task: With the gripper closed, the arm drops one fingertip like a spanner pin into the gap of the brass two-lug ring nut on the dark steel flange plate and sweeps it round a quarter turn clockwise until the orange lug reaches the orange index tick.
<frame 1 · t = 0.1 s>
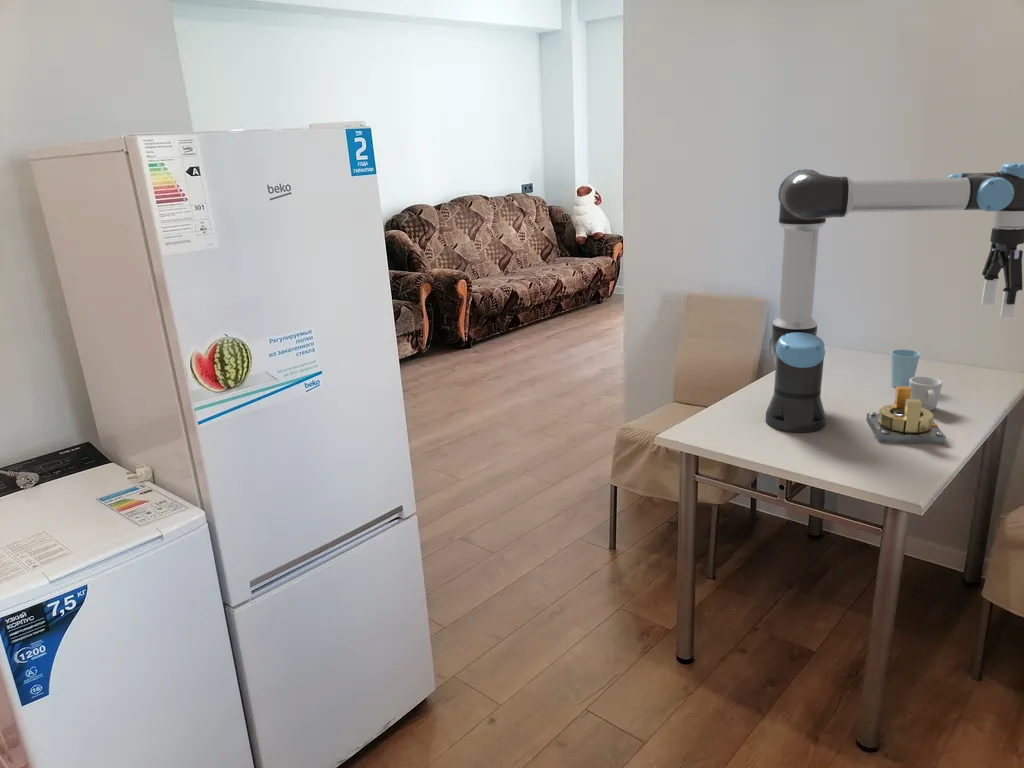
hand: (996, 310, 196), 28 cm above the table, fingers open, 13 cm apart
flange: (903, 431, 195), on the table
cup 2: (901, 386, 227), on the table
ring nut: (906, 408, 193), point 6 cm above the table, hinge at 0.0°
cup: (923, 410, 208), on the table
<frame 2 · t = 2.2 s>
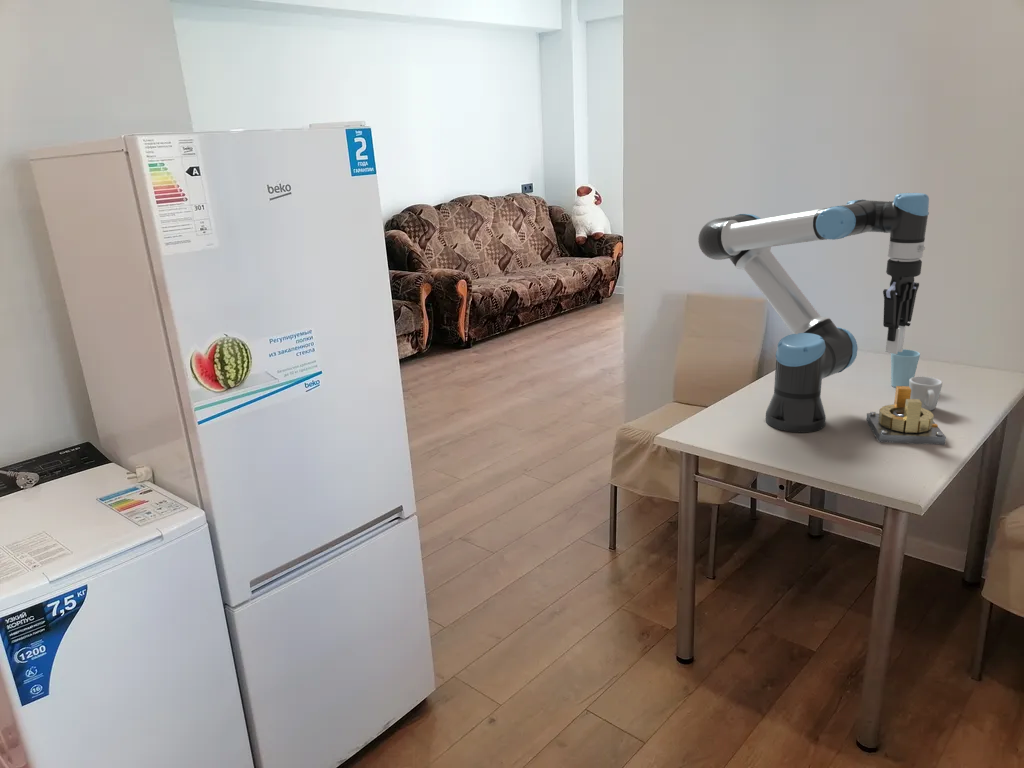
hand: (894, 351, 192), 20 cm above the table, fingers closed
nothing on the table moved.
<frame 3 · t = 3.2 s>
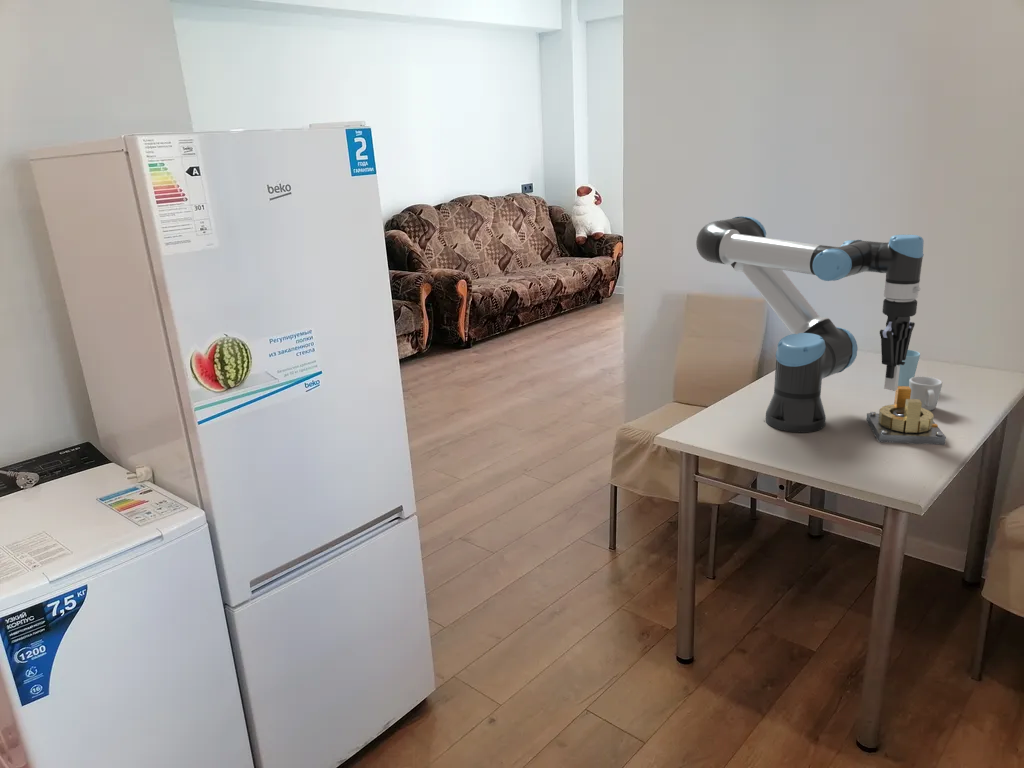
hand: (890, 389, 195), 11 cm above the table, fingers closed
nothing on the table moved.
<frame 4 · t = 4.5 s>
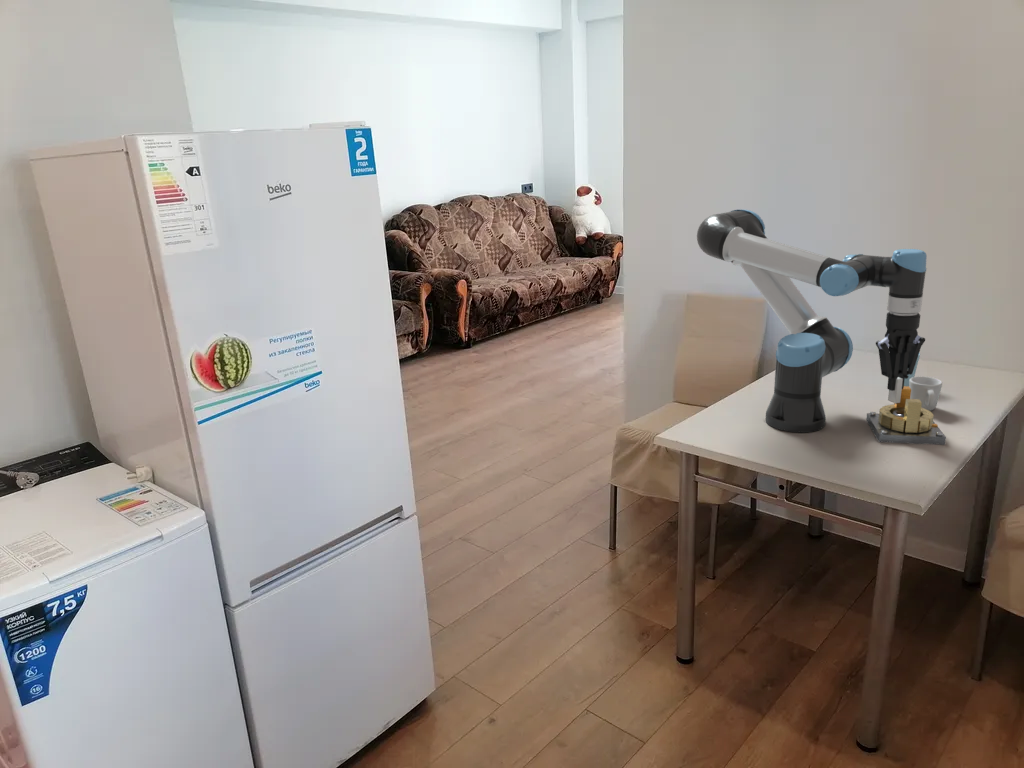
hand: (893, 401, 196), 7 cm above the table, fingers closed
ring nut: (906, 408, 193), point 6 cm above the table, hinge at 0.0°, touching gripper
everything else where it was.
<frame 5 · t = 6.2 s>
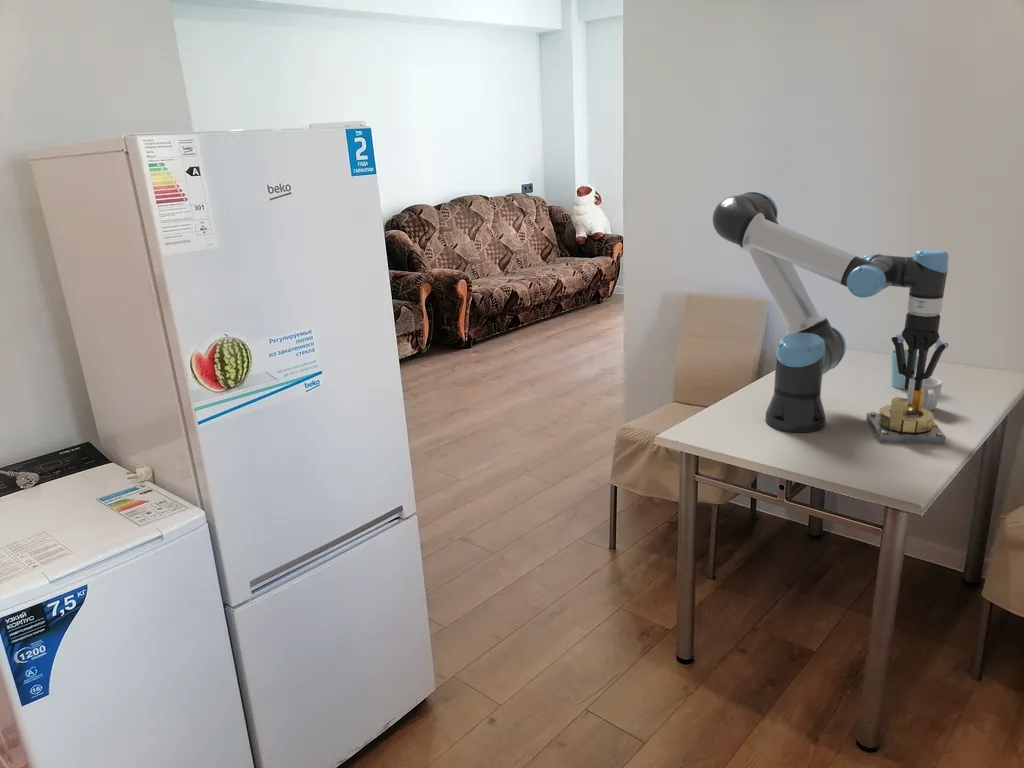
hand: (910, 401, 196), 7 cm above the table, fingers closed
ring nut: (906, 408, 193), point 6 cm above the table, hinge at -35.7°, touching gripper
everything else where it was.
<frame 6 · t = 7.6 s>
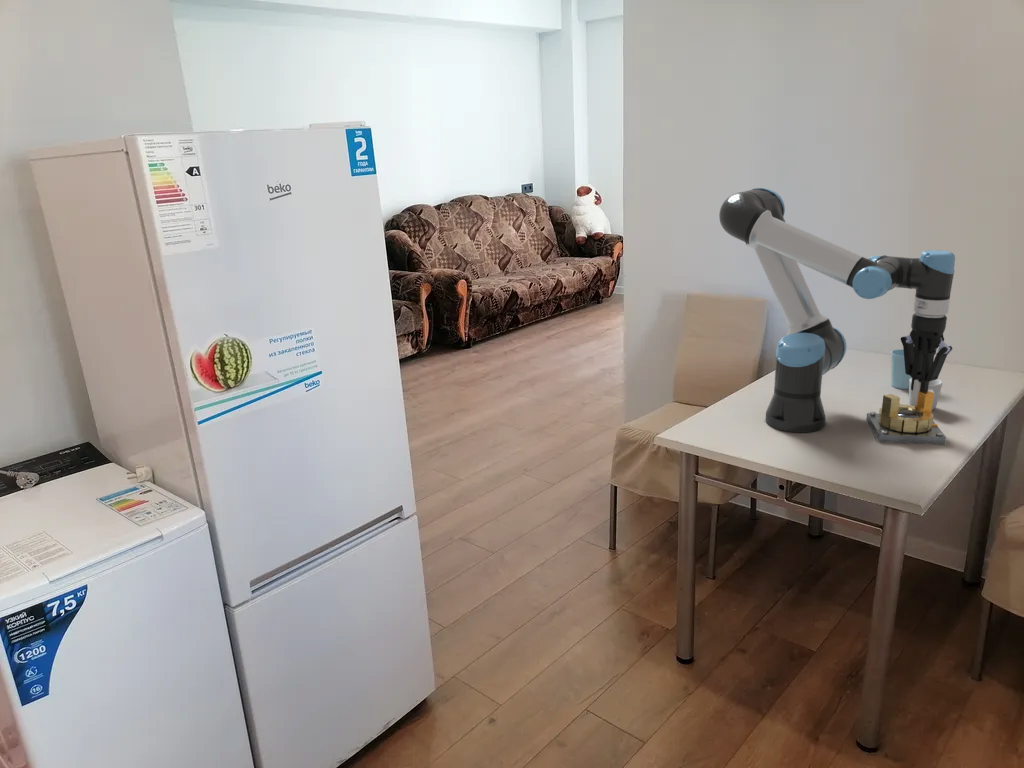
hand: (917, 403, 195), 7 cm above the table, fingers closed
ring nut: (906, 408, 193), point 6 cm above the table, hinge at -64.2°, touching gripper
everything else where it was.
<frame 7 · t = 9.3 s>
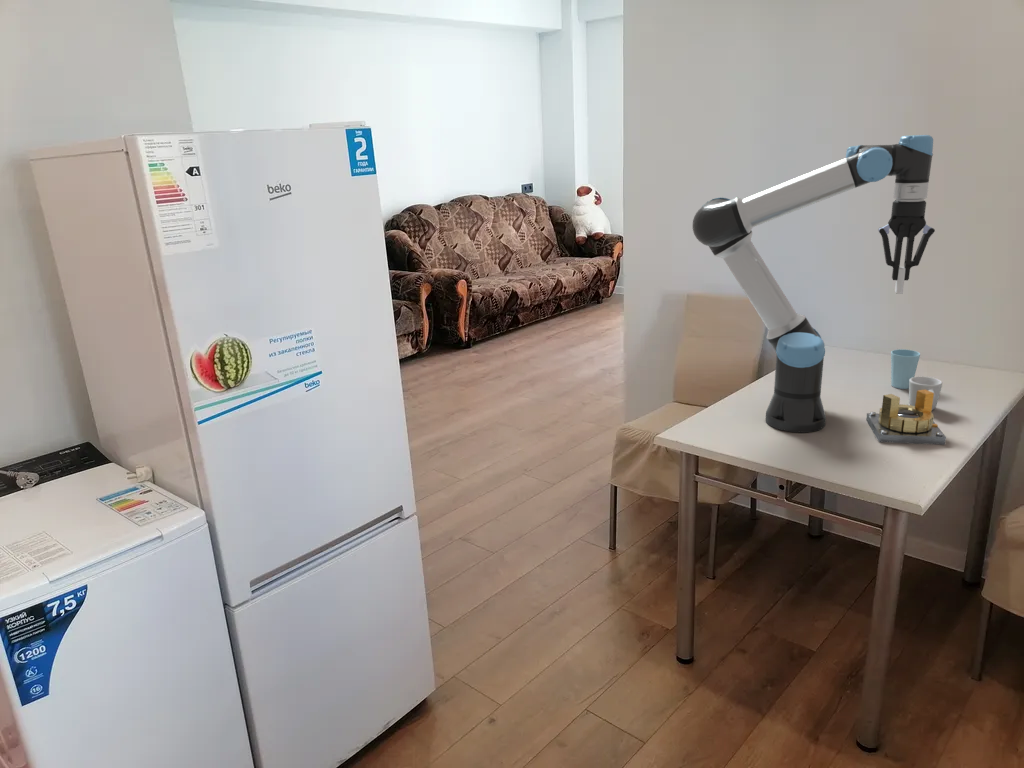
hand: (898, 292, 197), 33 cm above the table, fingers closed
ring nut: (906, 408, 193), point 6 cm above the table, hinge at -64.2°
everything else where it was.
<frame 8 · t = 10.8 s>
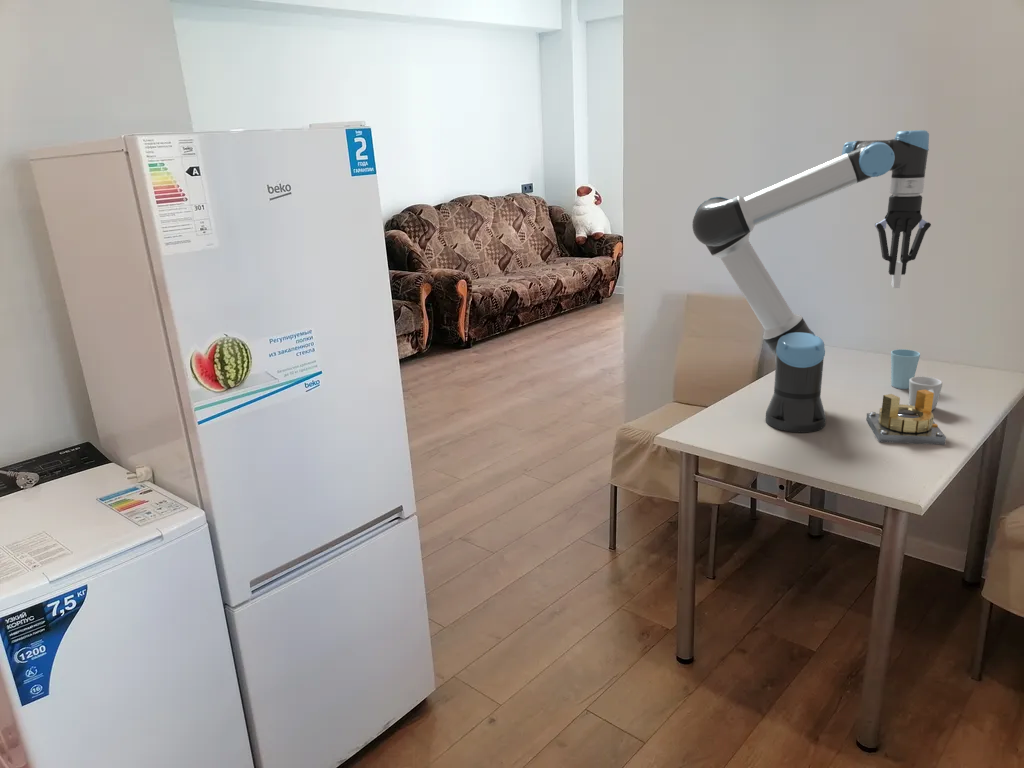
hand: (895, 286, 199), 34 cm above the table, fingers closed
nothing on the table moved.
at the end: ring nut at -64° (first picture: +0°) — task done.
